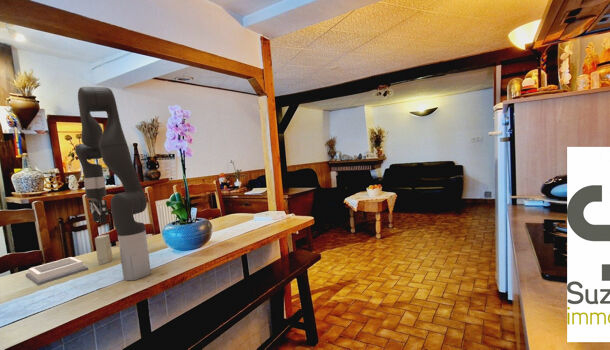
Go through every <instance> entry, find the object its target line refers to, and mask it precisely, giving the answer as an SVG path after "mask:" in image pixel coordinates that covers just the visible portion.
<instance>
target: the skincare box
mask: <svg viewBox="0 0 610 350" xmlns="http://www.w3.org/2000/svg"><path fill="white" fill-rule="evenodd" d="M94 244H95V248H96V249H95V250H96V255H97V256H96V257H97V263H98V265H104V264H109V263H110V262H111V261H112V260H113V253H112V252H113V251H112V246H111V239H110V234H109V233H107V234H102V235H97V237H95V238H94Z"/></svg>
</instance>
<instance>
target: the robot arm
mask: <svg viewBox="0 0 610 350" xmlns="http://www.w3.org/2000/svg"><path fill="white" fill-rule="evenodd" d="M77 102H78V110H79V116H80V117H79V118H80V123H81V142H82V143H79V144H77V145H76V146H75V151H74V152H75V155H76V157H77V158H78V160H79V162H80V165H81V167H82V171H83V178H84V181H83V182H84V184H83V185H84V190H85V191H84V192H85V198H86V199H88V201H87V202H88V209H89V213H91V215H92V221H93V222H94V223H95V222H99V221H100V222H99V223H100V224H105V223H107V213H109V209H108V204H107V200H106V199H103V198H104V197H105V198H106V197H107V189H106V182H105V181H106V180H105V178H104V172H103V171H104V170H103V166H102V165H101V164H97V163H91V162H89V161H88V160H99V159H102V161H103V163H104V165H105V166H106V167H107V168H108V169H109V170H110V171H111V172H112V173H113V174H114V175H115V177H117V178H118V179H119V181H120V182H121V184H122V187H123V189H124V192H119V193H118V192H117V193H116V194H114V195H113V196H112V197H111V201H110V213H111V216H112V221H113V226H114V228H115V230H116V233H117V240H118V247H119V254H120V263H121V269H122V270H121V271H122V277H123V280H124V281H137V280H139V279H142V278H144V277H148V276H149V275H151V274H152V272H151V271H152V270H151V264H150V263H151V262H150V257H149V256H150V255H149V248H148V247H149V246H148V240H147V231H146V225H145V223H144V222H140V221H139V222H138V221H136V220H135V218H134V215H137V214H140V213H143V212H144V211H145V210H146V209H147V206H148V203H147V196H146V194H145V191H144V188H143V187H142V185H141V182H140V180H139V177H138V175H137V172H136V169H135V165H134V163H133V160H132V156H131V152H130V148H129V146H128V142H127V140H126V137H125V132H124V131H123V127H122V124H121V120H120V119H121V118H120V115H119V109H118V106H117V101H116V97H115V95H114V93H113V90H112V89H111V88H109V87H105V86H82V87H79V88H78V91H77ZM91 112H93V113H94V112H98V113H100V112H106V114H107V115H106V116H107V121H106V125H105V128H104V130H103V128H102V125H101V124H100V123H99V122H98V121H97V120H96V119H95V117H93V116H92V114H91Z"/></svg>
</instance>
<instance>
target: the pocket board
mask: <svg viewBox="0 0 610 350" xmlns="http://www.w3.org/2000/svg"><path fill="white" fill-rule="evenodd" d="M28 270H29V271H28V272H27V273H25V277H26V278H28V279H29V280H31V281H32V282H33V283H34V284H36V285H37V286H41V285H44V284H46V283H50V282H54V281H56V280H60V279H62V278H65V277H70V276H72V275H75V274H79V273H82V272H84V271H89V267H88V266H86V265H84V263H83V261H82V260H80V259H77V258H75V257H72V256H70V257H67V258H62V259H58V260H56V261H55V260H54V261H50V262H48V263H44V264H41V265H37V266H32V267H30V268H28Z"/></svg>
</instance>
